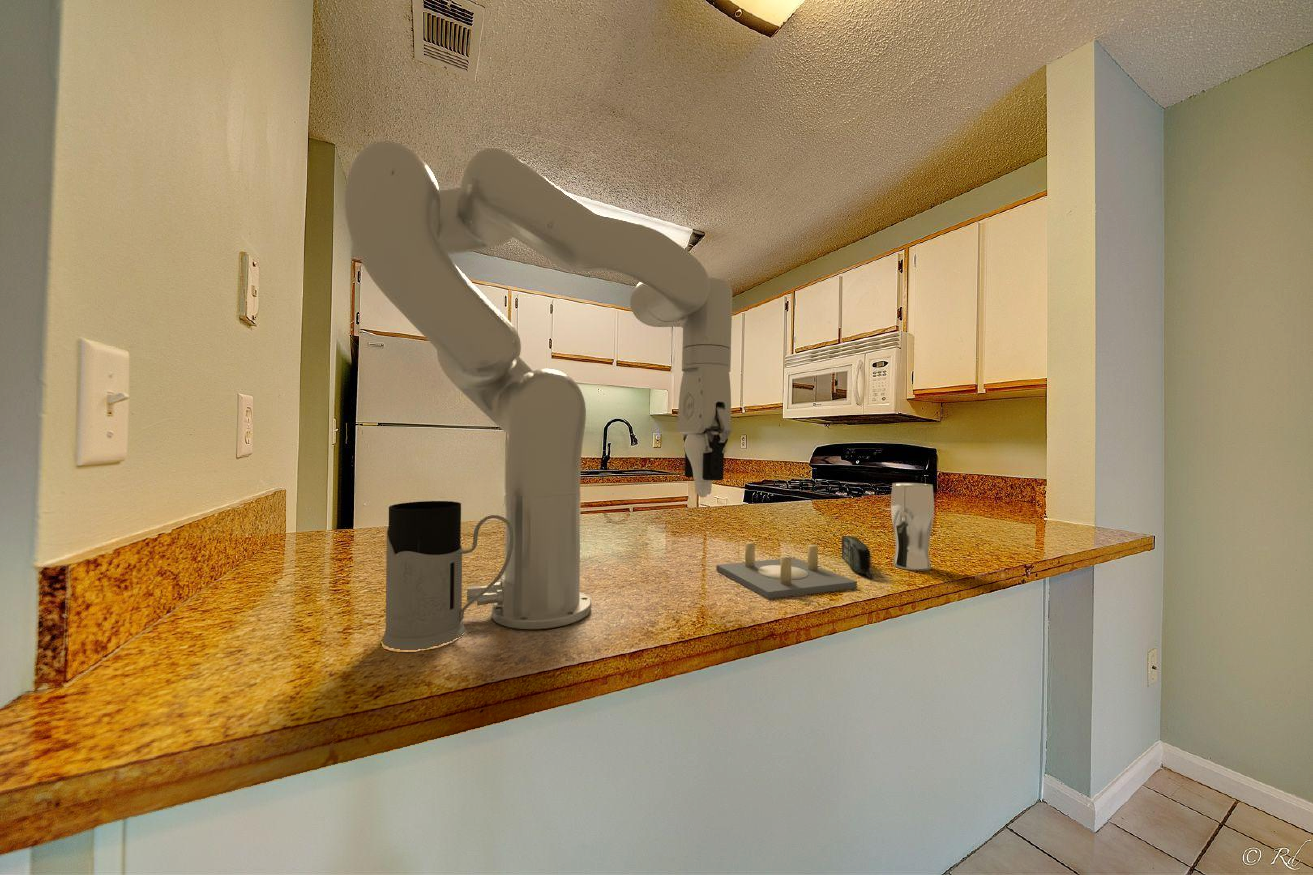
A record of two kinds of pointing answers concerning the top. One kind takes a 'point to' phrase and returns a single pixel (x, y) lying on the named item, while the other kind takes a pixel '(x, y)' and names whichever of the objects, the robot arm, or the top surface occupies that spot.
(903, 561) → the beer glass
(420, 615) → the glass holder
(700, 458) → the lightbulb
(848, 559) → the mobile phone
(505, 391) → the robot arm
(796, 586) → the pin board
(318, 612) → the top surface
